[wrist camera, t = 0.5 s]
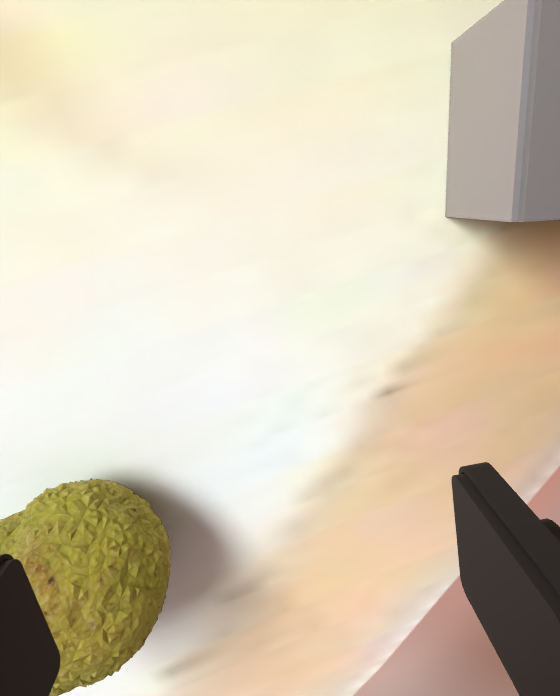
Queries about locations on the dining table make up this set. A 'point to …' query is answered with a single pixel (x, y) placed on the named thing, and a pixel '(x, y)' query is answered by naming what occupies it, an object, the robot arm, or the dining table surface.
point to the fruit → (92, 573)
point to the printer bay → (506, 115)
